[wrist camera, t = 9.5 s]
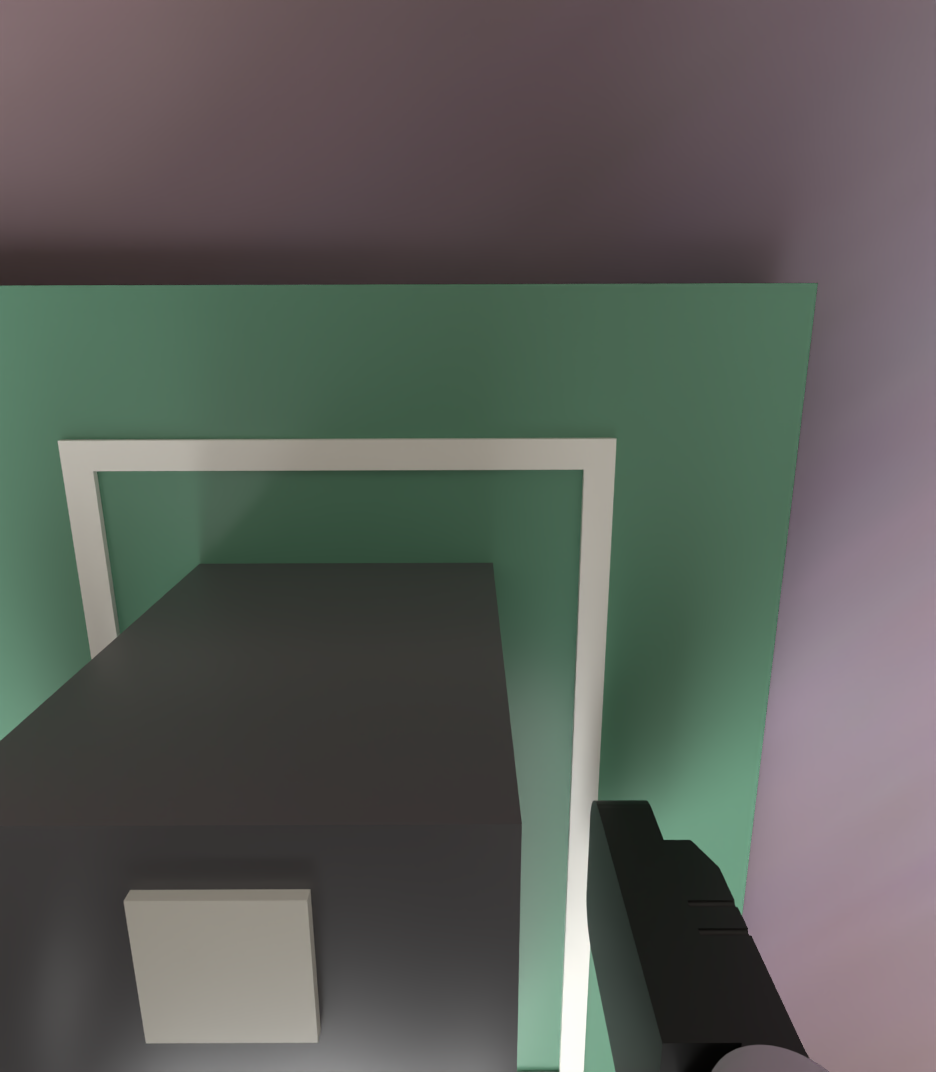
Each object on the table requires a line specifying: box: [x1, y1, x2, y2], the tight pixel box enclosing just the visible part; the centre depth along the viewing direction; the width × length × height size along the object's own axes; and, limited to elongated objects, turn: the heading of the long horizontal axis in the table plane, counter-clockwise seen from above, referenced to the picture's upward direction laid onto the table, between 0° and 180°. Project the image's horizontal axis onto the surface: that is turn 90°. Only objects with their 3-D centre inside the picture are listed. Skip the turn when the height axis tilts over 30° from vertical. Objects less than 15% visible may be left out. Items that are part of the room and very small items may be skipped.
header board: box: [0, 283, 818, 1072], centre depth 10 cm, size 15×12×5 cm
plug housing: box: [0, 563, 522, 1072], centre depth 8 cm, size 8×4×6 cm, turn 0°
